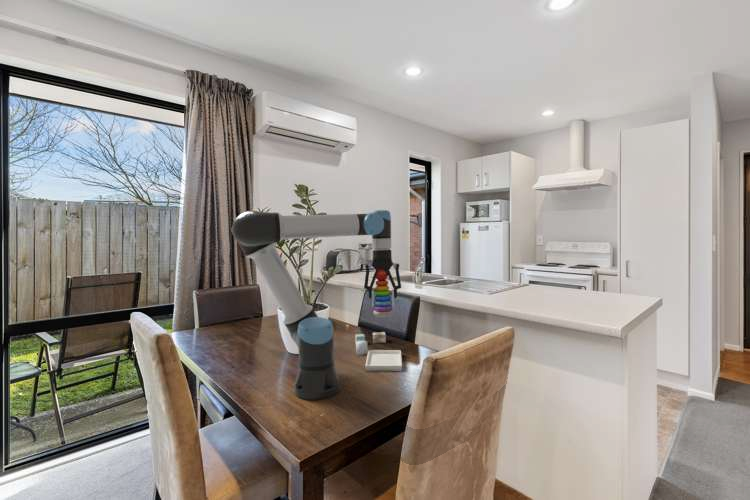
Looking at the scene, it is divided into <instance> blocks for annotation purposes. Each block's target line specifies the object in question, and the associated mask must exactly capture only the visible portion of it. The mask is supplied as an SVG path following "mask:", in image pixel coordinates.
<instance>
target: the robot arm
mask: <svg viewBox="0 0 750 500" xmlns="http://www.w3.org/2000/svg"><path fill="white" fill-rule="evenodd" d="M391 216H392V215H391V211H389V210H386V209H385V210H382V209H381V210H377V209H376V210H373V211H371V212H369V213H345V214H343V213H341V214H339V213H335V214H304V215H303V214H300V215H299V214H298V215H297V214H296V215H295V214H294V215H282V214H281V213H279V212H267V211H264V212H263V211H259V210H258V211H256V210H247V211H244V212H242V213H240V214H239V215H238V216H236V218H235V219H234V220H233V223H232V226H231V227H232V228H231V232H232V236H233V237H234V239H235V241H237V243H238V244H239V248H241V251H242V252H243V254H244V256H245V258H249V259H251V260H252V261H253V262H254V264H255V266H256V268H257V269H258V271H259V272H260V275H261V276H262V278H263V280H264V281H265V283H266V285H267V287H268V288H269V290H270V292H271V294H272V296H273V297H274V299H275V301H276V302H277V303H276V304H278V306H279V308H280V310H281V311H282V313H283V315H284V320H283V324H284V325H285V327H286V329H287V331H288V333H289V334H290V337H291V339H292V340H293V342H294V343H295V345H296V347H297V348H298V372H297V375H296V378H295V382H294V387H293V389H294V394H295V396H297V397H298V398H300V399H304V400H309V401H310V400H314V401H315V400H322V399H328V398H330V397H333V396H334V395H336V394H337V393H338V392H339V391H340V389H341V382H340V378H339V375H338V372H337V370H336V367H335V352H334V351H335V349H334V348H335V347H334V345H335V343H334V342H335V341H334V340H335V338H334V336H335V335H334V333H335V332H334V326H333V323H332V321H331V320H330V319H328V318H327V317H324V318H323V317H322V316H321V317H320V316H318V314H317V312H316V311H315V309H314V307H313V305H309V304H307V303H306V301H305V299H304V298H303V296H302V294H301V292H300V291H299V288H298V287H297V285H296V283H295V281H294V279H293V277H292V275H291V273H290V272H289V270H288V268H287V267H286V265H285V263H284V261H283V260H282V257H281V256H280V253H279V252H278V250H277V248H276V245H277V243H279V244H280V243H281V242H282V241H284V240H292V239H295V240H296V239H313V238H331V237H333V238H334V237H350V236H352V237H354V236H371V240H372V243H371V244H372V249H373V250H372V261H371V263H366V264H365V266H364V267H365V270H366V271H365V277H364V285H363V286H364V287H363V289H364V290H368V298H369V299H371V307H372V308H374V306H375V304H374V302H375V289H373V287H374V285H375V283H376V280H377V278H376V275H377V274H378V271H379V270H384V271H386V272H387V274H388V277H387V278H388V279H389V281H390V284H391V286H392V288H393V289H391V302H392V304H391V305H392V308H394V307H395V299H397V298H398V293H397V292H398V290H400V289H402V284H401V276H400V271H399V270H400V264H399V263H398V262H397V263H395V262H393V260H392V258H393V257H392V217H391ZM372 267H373V269H374V274H373V277H372V279H371V282H370V285H369V277H370V270H371V268H372ZM392 267H393V268H394V269H395V274H396V282H395V281H394V280H395V279H394V278H393V275H392V274H391V271H390V270H391V268H392ZM396 283H397V285H396Z"/></svg>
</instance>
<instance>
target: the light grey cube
mask: <svg viewBox="0 0 750 500" xmlns="http://www.w3.org/2000/svg"><path fill="white" fill-rule="evenodd" d="M368 350H369V349H368V341H367V340H365V341H364V340H361V341H357V342H356V343H355V354H356V355H357V356H367V354H368Z"/></svg>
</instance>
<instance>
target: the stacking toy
mask: <svg viewBox="0 0 750 500" xmlns="http://www.w3.org/2000/svg"><path fill="white" fill-rule="evenodd" d="M388 278H389V277H388V274H387V272H386V271H384V270H379V271H378V274H377V275H376V280H375V285H376V286H375V287H374V288H375V289H374V307H373V315H374V316H376V317H382V318H384V317H390V316H392V315H393V314H394V310H393V307H392V295H390V294H391V292H390V286H389V281H388V280H387V279H388Z"/></svg>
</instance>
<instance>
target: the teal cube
mask: <svg viewBox="0 0 750 500" xmlns="http://www.w3.org/2000/svg"><path fill="white" fill-rule="evenodd" d="M354 338H355V339H354V340H355V341H354V342H355V344H356V342H357V341H361V340H364V341H366V335H365V334H364V333H357V334H354Z"/></svg>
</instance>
